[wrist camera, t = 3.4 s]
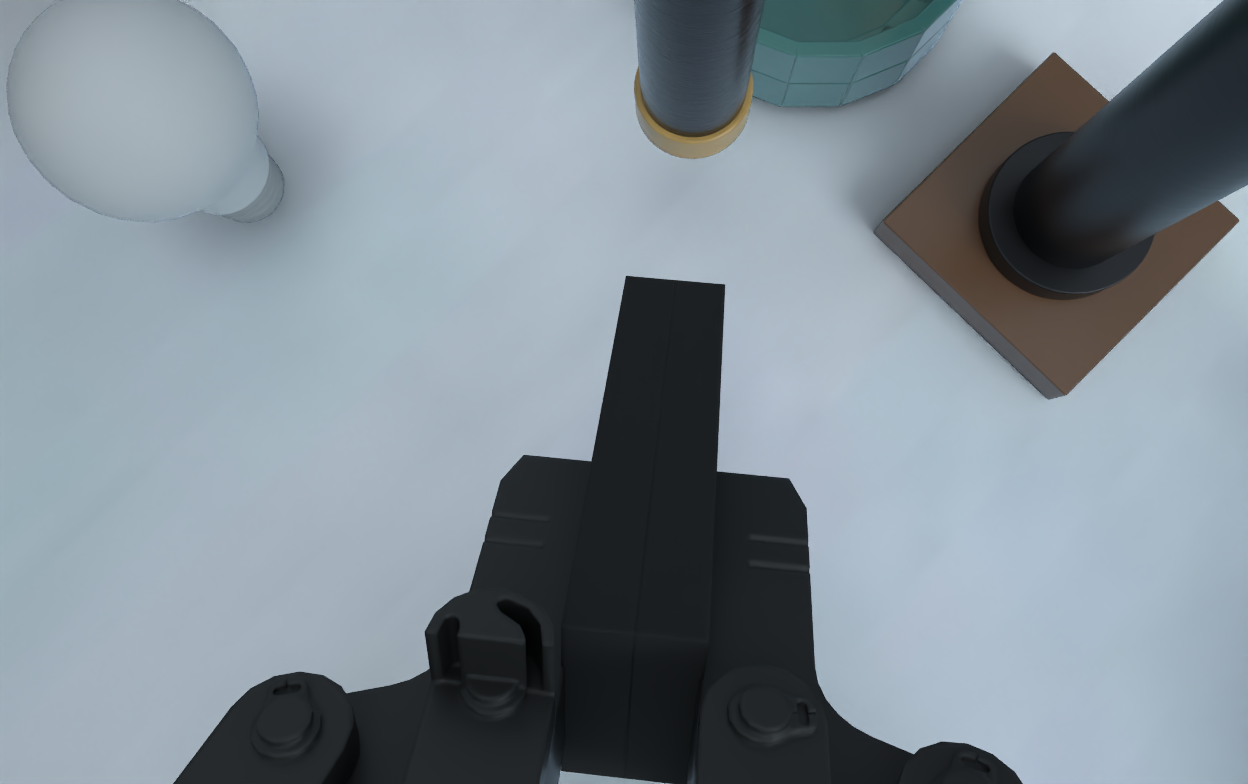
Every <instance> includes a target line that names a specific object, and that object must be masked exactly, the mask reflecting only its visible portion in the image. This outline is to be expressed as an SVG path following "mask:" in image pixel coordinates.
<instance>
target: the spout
mask: <svg viewBox="0 0 1248 784" xmlns="http://www.w3.org/2000/svg"><path fill="white" fill-rule="evenodd" d="M634 3H635V18H636V32H637V47H638V62H639V66H638V69H637V72H636V76H635V82H634V93H635V105H636V114H637V118H638V121H639V124H640V126H641V128H642V130H643V132H644V134H645V135H646V136H647V138H648V139H649V140H650V141H651V142H652V143H653V144H654V145H655V146H657V147H658V148H659V149H661V150H662V151H664V152H666V153H668V154H670V155H673V156H676V157H680V158H687V159H697V158H704V157H708V156H711V155H714V154H716V153H718V152H720V151H722V150H724V149H725V148H727V147H728V146H729V145H730V144H732V143H733V142H734V141H735V140H736V138H737V137H738V136H739V135H740V133H741V132H742V130H743V128H744V126H745V124H746V122H747V118H748V115H749V110H750V106H751V101H752V95H753V77H752V73H751V69H752V64H753V59H754V54H755V49H756V44H757V39H758V34H759V29H760V24H761V18H762V13H763V8H764V3H765V0H634Z"/></svg>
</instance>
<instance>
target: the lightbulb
mask: <svg viewBox="0 0 1248 784" xmlns="http://www.w3.org/2000/svg"><path fill="white" fill-rule="evenodd" d="M6 86H7V100H8V112H9V116H10V120H11V124H12V127H13V131H14V133H15V135H16V137H17V139H18V141H19V143H20V145H21V147H22V149H23V150H24V152H25V154H26V155H27V157H28V159H29V160H30V162H31V163H32V164H33V165H34V166H35V168H36V169H37V170H38V171H39V172H40V174H41V175H42V176H43V177H44V178H45V179H46V180H47V181H48V182H49V183H50V184H51V185H52V186H53V187H55V188H56V189H57V190H59V191H60V192H61V193H62V194H64V195H65V196H66V197H67V198H69V199H70V200H72V201H74V202H76V203H78V204H80V205H82V206H84V207H86V208H88V209H91V210H93V211H95V212H97V213H99V214H101V215H105V216H109V217H113V218H117V219H121V220H130V221H146V222H159V221H166V220H172V219H177V218H180V217H183V216H186V215H188V214H191V213H194V212H197V211H201V212H204V213H208V214H215V215H222V216H224V217H226V218H229V219H232V220H234V221H238V222H243V223H250V222H256V221H259V220H262V219H263V218H265V217H267V216H268V215H270V214H271V213H272V212H273V211H274V210H275V209H276V207H277V206H278V205H279V203H280V201H281V199H282V196H283V192H284V179H283V175H282V172H281V170H280V168H279V167H278V165H277V164H276V163H275V161H274V160H273V159H272V158H271V157H270V156H269V155H268V154H267V151H266V148H265V146H264V144H263V142H262V140H261V138H260V137H259V136H258V135H257V127H258V117H259V114H258V104H257V95H256V92H255V89H254V85H253V82H252V79H251V76H250V74H249V72H248V69H247V67H246V65H245V63H244V61H243V59H242V57H241V56H240V54H239V52H238V50H237V48H236V47H235V46H234V44H233V43H232V42H231V41H230V40H229V39H228V38H227V36H226V35H225V34H224V33H223V32H222V31H221V30H220V29H219V28H218V27H217V26H216V25H215V24H214V23H213V22H212V21H211V20H210V19H208V18H207V17H206V16H204V15H203V14H202V13H200V12H199V11H198V10H196V9H194V8H193V7H191V6H189V5H187V4H185V3H183V2H181V1H179V0H60V1H58V2H56V3H54V4H53V5H51V6H50V7H48V8H47V9H46V10H45V11H44V12H42V13H41V14H40V15H39V16H38V17H37V18H35V20H34V21H33V22H32V23H31V25H30V26H29V27H28V28H27V29H26V31H25V32H24V33H23V35H22V37H21V39H20V40H19V42H18V44H17V46H16V48H15V50H14V53H13V56H12V59H11V62H10V65H9V69H8V77H7V85H6Z"/></svg>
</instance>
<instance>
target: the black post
mask: <svg viewBox="0 0 1248 784" xmlns="http://www.w3.org/2000/svg"><path fill="white" fill-rule="evenodd" d="M1246 185H1248V0H1224V1H1222V2H1221V3H1220V4H1219V5H1218V6H1217V7H1216V8H1214V9H1213V10H1212V11H1211V12H1210V13H1209V14H1208V15H1207V16H1205V17H1204V18H1203V19H1202V20H1201V21H1200V22H1199V23H1198V24H1196V25H1195V26H1194V27H1193V28H1192V29H1191V30H1190V31H1189V32H1187V33H1186V34H1185V35H1184V36H1183V37H1182V38H1181V39H1180V40H1178V41H1177V42H1176V43H1175V44H1174V45H1173V46H1172V47H1170V48H1169V49H1168V50H1167V51H1166V52H1165V53H1164V54H1163V55H1161V56H1160V57H1159V58H1158V59H1157V60H1156V61H1155V62H1154V63H1152V64H1151V65H1150V66H1149V67H1148V68H1147V69H1146V70H1145V71H1143V72H1142V73H1141V74H1140V75H1139V76H1138V77H1137V78H1136V79H1134V80H1133V81H1132V82H1131V83H1130V84H1129V85H1128V86H1126V87H1125V88H1124V89H1123V90H1122V91H1121V92H1120V93H1119V94H1117V95H1116V96H1115V97H1114V98H1113V99H1112V100H1111V101H1110V102H1109V101H1108V100H1107V99H1106V98H1104V97H1103V96H1102V95H1101V94H1100V93H1099V92H1098V91H1097V90H1096V89H1095V88H1093V87H1092V86H1091V85H1090V84H1089V83H1088V82H1087V81H1086V80H1085V79H1084V78H1082V77H1081V76H1080V75H1079V74H1078V73H1077V72H1076V71H1075V70H1074V69H1072V68H1071V67H1070V66H1069V65H1068V64H1067V63H1066V62H1065V61H1064V60H1063V59H1061V58H1060V57H1059V56H1058V55H1057V54H1056V53H1052V54H1051V55H1050V56H1049V57H1048V58H1047V59H1046V60H1045V61H1044V62H1043V63H1042V64H1041V65H1040V66H1039V67H1038V68H1037V69H1036V70H1035V71H1034V72H1033V73H1032V74H1031V75H1030V76H1029V77H1028V78H1027V79H1026V80H1025V81H1024V82H1023V83H1022V84H1021V85H1020V86H1019V87H1018V88H1017V89H1016V90H1014V91H1013V92H1012V93H1011V94H1010V95H1009V96H1008V97H1007V98H1006V99H1005V100H1004V101H1003V102H1002V103H1001V104H1000V105H999V106H998V107H997V108H996V109H995V110H994V111H993V112H992V113H991V114H990V115H989V116H988V117H987V118H986V119H985V120H984V121H983V122H982V123H981V124H980V125H979V126H978V127H977V128H976V129H975V130H974V131H973V132H972V133H971V134H970V135H969V136H968V137H967V138H966V139H965V140H964V141H963V142H962V143H961V144H960V145H959V146H958V147H957V148H956V149H955V150H954V151H953V152H952V153H951V154H950V155H949V156H948V157H947V158H945V159H944V160H943V161H942V162H941V163H940V164H939V165H938V166H937V167H936V168H935V169H934V170H933V171H932V172H931V173H930V174H929V175H928V176H927V177H926V178H925V179H924V180H923V181H922V182H921V183H920V184H919V185H918V186H917V187H916V188H915V189H914V190H913V191H912V192H911V193H910V194H909V195H908V196H907V197H906V198H905V199H904V200H903V201H902V202H901V203H900V204H899V205H898V206H897V207H896V208H895V209H894V210H893V211H892V212H891V213H890V214H889V215H888V216H887V217H886V218H885V219H884V220H883V221H882V222H881V223H880V225H879V226H878V227H877V228H876V230H875V231H874V233H875V234H876V235H877V236H878V237H879V238H880V239H881V240H882V241H883V242H884V243H885V244H886V245H887V246H888V247H889V248H890V249H891V250H892V251H893V252H894V253H895V254H897V255H898V256H899V257H900V258H901V259H902V260H903V261H904V262H905V263H906V264H907V265H908V266H909V267H910V268H911V269H912V270H913V271H914V272H915V273H916V274H917V275H919V276H920V277H921V278H922V279H923V280H924V281H925V282H926V283H927V284H928V285H929V286H930V287H931V288H932V289H933V290H934V291H935V292H936V293H937V294H938V295H939V296H941V297H942V298H943V299H944V300H945V301H946V302H947V303H948V304H949V305H950V306H951V307H952V308H953V309H954V310H955V311H956V312H957V313H958V314H959V315H960V316H961V317H963V318H964V319H965V320H966V321H967V322H968V323H969V324H970V325H971V326H972V327H973V328H974V329H975V330H976V331H977V332H978V333H979V334H980V335H981V336H982V337H983V338H985V339H986V340H987V341H988V342H989V343H990V344H991V345H992V346H993V347H994V348H995V349H996V350H997V351H998V352H999V353H1000V354H1001V355H1002V356H1003V357H1004V358H1006V359H1007V360H1008V361H1009V362H1010V363H1011V364H1012V365H1013V366H1014V367H1015V368H1016V369H1017V370H1018V371H1019V372H1020V373H1021V374H1022V375H1023V376H1024V377H1025V378H1026V379H1028V380H1029V381H1030V382H1031V383H1032V384H1033V385H1034V386H1035V387H1036V388H1037V389H1038V390H1039V391H1040V392H1041V393H1042V394H1043V395H1044V396H1045V397H1046V398H1047V399H1052V398H1057V397H1061V396H1065V395H1067V394H1068V393H1069V392H1070V391H1071V390H1072V389H1073V388H1074V387H1075V386H1076V385H1077V384H1078V383H1079V382H1080V381H1081V380H1082V379H1083V378H1084V377H1085V376H1086V375H1087V374H1088V373H1089V372H1090V371H1091V370H1092V369H1093V368H1094V367H1095V366H1096V365H1097V364H1098V363H1099V362H1100V361H1101V360H1102V359H1103V358H1104V357H1105V356H1106V355H1107V354H1108V353H1109V352H1110V351H1111V350H1112V349H1113V348H1114V347H1115V346H1116V345H1117V344H1118V343H1119V342H1120V341H1121V340H1122V339H1123V338H1124V337H1125V336H1126V335H1127V334H1128V333H1129V332H1130V331H1131V330H1132V329H1133V328H1134V327H1135V326H1136V325H1137V324H1138V323H1139V322H1140V321H1141V320H1142V319H1143V318H1144V317H1145V316H1146V315H1147V314H1148V313H1149V312H1150V311H1151V310H1152V309H1153V308H1154V307H1155V306H1156V305H1157V304H1158V303H1159V302H1160V301H1161V300H1162V299H1163V298H1164V297H1165V296H1166V295H1167V294H1168V293H1169V292H1170V291H1171V290H1172V289H1173V288H1174V287H1175V286H1176V285H1177V284H1178V282H1179V281H1180V280H1181V279H1182V278H1183V277H1184V276H1185V275H1186V274H1187V273H1188V272H1189V271H1190V270H1191V269H1192V268H1193V267H1194V266H1195V265H1196V264H1197V263H1198V262H1199V261H1200V260H1201V259H1202V258H1203V257H1204V256H1205V255H1206V254H1207V253H1208V252H1209V251H1210V250H1211V249H1212V248H1213V247H1214V246H1215V245H1216V244H1217V243H1218V242H1219V241H1220V240H1221V239H1222V238H1223V237H1224V236H1225V235H1226V234H1227V233H1228V232H1229V231H1230V230H1231V229H1232V228H1233V227H1234V226H1235V225H1236V224H1237V223H1238V222H1239V219H1238V218H1237V217H1236V216H1235V215H1234V214H1232V213H1231V212H1230V211H1229V210H1228V209H1227V208H1226V207H1225V206H1224V205H1223V204H1221V203H1220V202H1219V201H1218V200H1220V199H1222V198H1224V197H1226V196H1227V195H1229V194H1231V193H1233V192H1235V191H1237V190H1239V189H1241V188H1242V187H1244V186H1246Z"/></svg>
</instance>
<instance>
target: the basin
mask: <svg viewBox="0 0 1248 784" xmlns="http://www.w3.org/2000/svg"><path fill="white" fill-rule="evenodd" d="M961 2H962V0H765V3H764V8H763V13H762V18H761V24H760V29H759V34H758V39H757V44H756V49H755V54H754V59H753V64H752V69H751V73H752V77H753V95H752V96H754V97H756V98H759V99H762V100H764V101H767V102H769V103H772V104H774V105H777V106H780V107H781V106H783V107H819V106H840V105H841V106H842V105H845V104H848V103H850V102H853V101H855V100H858V99H860V98H863V97H865V96H868V95H870V94H872V93H875V92H877V91H880V90H882V89H885V88H887V87H890V86H892V85H894V84H895V83H897V82H898V81H899V80H900V79H901V78H902V77H903V76H904V75H905V74H906V73H907V72H908V71H909V70H910V69H911V68H912V67H913V66H914V65H915V64H917V63H918V62H919V61H920V60H921V59H922V58H923V57H924V56H925V55H926V54H927V53H928V52H929V51H930V50H931V49H932V48H933V47H934V46H935V44H936V43H937V41H938V40H939V38H940V37H941V35H942V33H943V32H944V30H945V28H946V27H947V25H948V23H949V22H950V20H951V18H952V17H953V15H954V14H955V12H956V10H957V9H958V7H959V5H960V4H961Z"/></svg>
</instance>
